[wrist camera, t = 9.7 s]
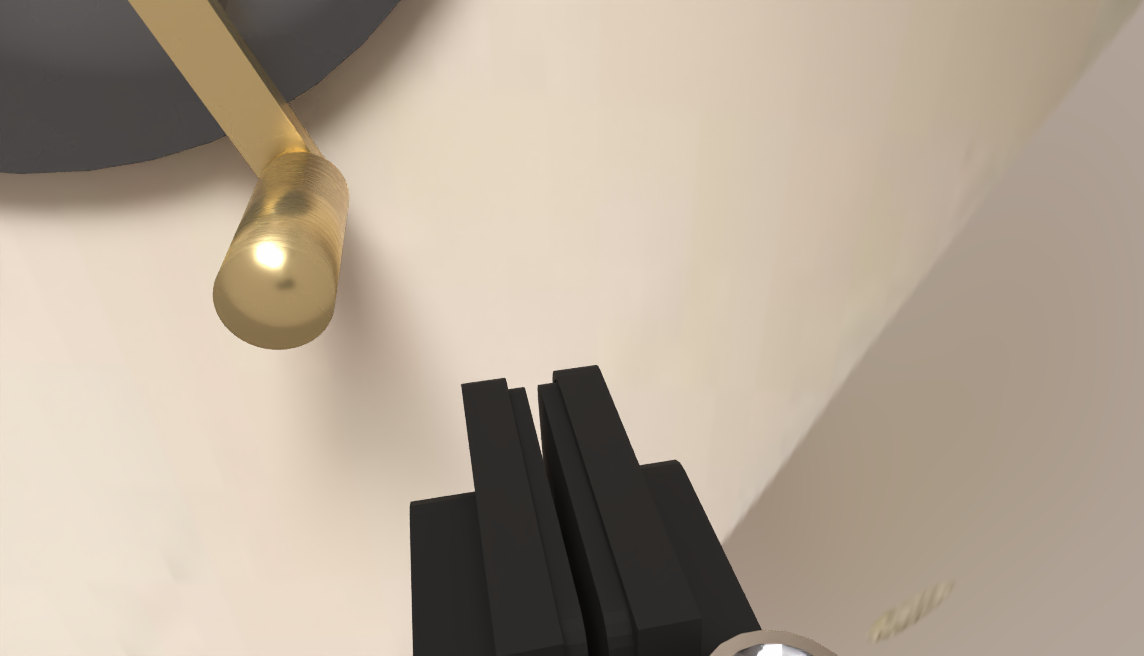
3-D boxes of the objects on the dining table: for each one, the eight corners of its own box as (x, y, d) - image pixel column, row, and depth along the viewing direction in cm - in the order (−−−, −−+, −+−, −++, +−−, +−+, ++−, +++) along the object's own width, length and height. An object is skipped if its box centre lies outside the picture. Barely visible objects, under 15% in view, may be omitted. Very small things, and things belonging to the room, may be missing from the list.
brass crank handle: (-102, -246, 18) (-391, -312, 11) (56, -341, 17) (-147, -466, 11) (273, 246, 24) (228, 384, 18) (391, 183, 24) (390, 299, 18)
